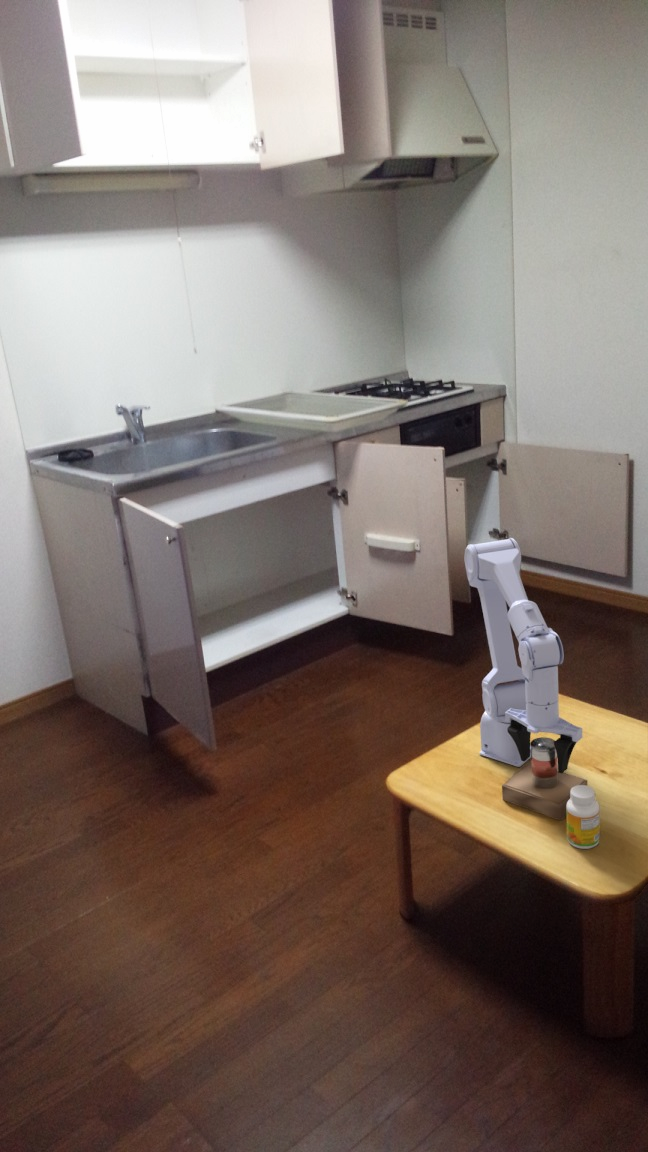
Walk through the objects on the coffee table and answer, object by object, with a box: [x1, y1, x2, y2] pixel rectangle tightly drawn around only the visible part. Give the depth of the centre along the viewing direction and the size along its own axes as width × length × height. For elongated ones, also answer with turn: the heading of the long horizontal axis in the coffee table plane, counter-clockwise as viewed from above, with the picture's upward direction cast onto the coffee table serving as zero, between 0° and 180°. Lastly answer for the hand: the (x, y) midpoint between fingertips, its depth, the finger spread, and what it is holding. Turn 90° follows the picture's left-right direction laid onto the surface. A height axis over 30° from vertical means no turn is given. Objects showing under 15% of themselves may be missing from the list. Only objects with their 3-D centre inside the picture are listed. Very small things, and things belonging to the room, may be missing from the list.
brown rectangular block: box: [501, 761, 589, 821], centre depth 166 cm, size 12×10×3 cm
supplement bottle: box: [566, 785, 601, 850], centre depth 152 cm, size 5×5×10 cm
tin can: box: [530, 736, 558, 789], centre depth 165 cm, size 5×5×8 cm
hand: (544, 764), depth 165 cm, fingers open, 7 cm apart
